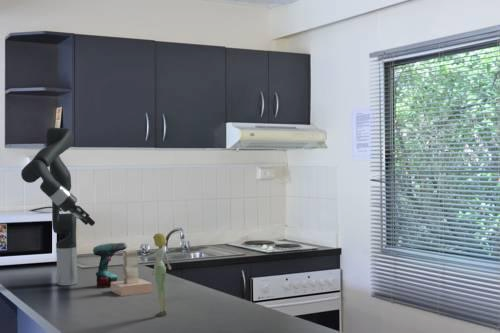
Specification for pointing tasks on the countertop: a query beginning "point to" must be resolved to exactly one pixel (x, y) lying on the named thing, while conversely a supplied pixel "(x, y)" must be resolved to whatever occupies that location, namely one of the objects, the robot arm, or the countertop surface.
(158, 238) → the sculpture
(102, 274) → the power drill
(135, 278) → the post
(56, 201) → the robot arm
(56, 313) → the countertop surface
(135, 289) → the base block
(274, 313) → the countertop surface
